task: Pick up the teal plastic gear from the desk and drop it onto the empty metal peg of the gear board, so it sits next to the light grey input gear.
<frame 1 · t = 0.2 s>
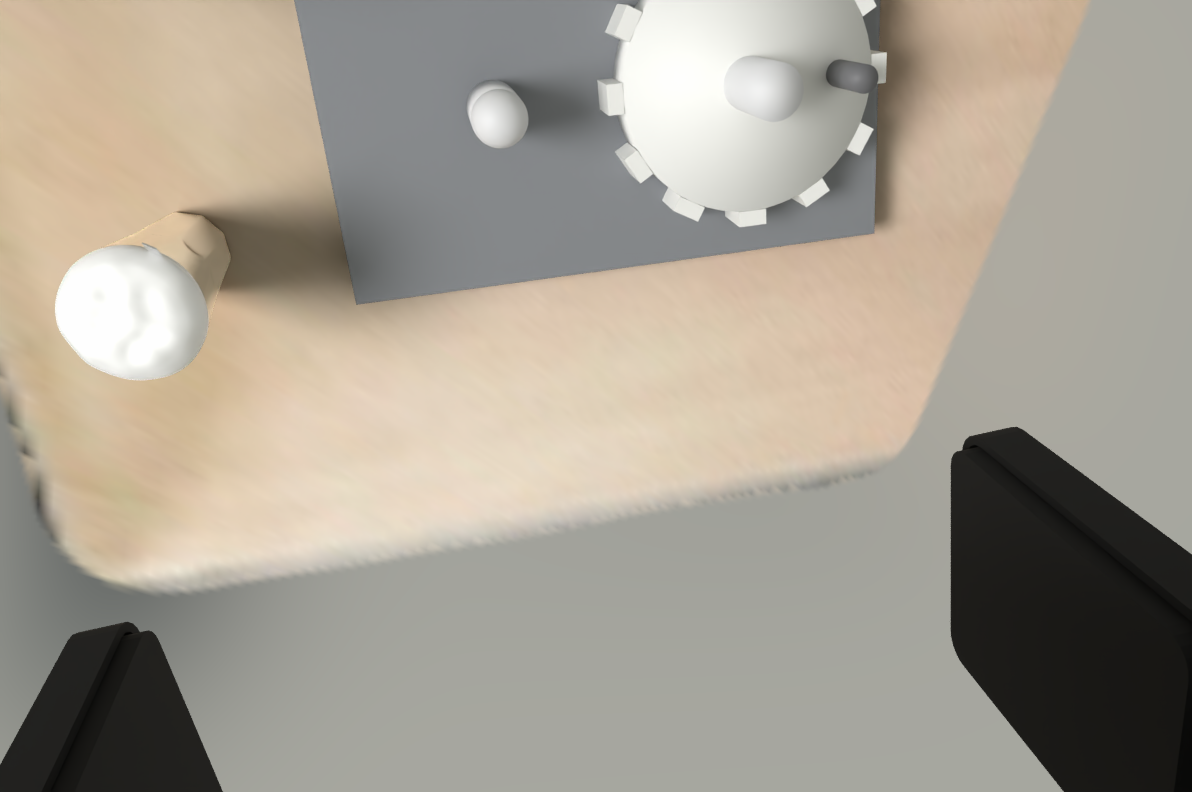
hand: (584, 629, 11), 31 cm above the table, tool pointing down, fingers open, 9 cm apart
gear board: (602, 89, 39), on the table
milkshake: (192, 241, 38), on the table
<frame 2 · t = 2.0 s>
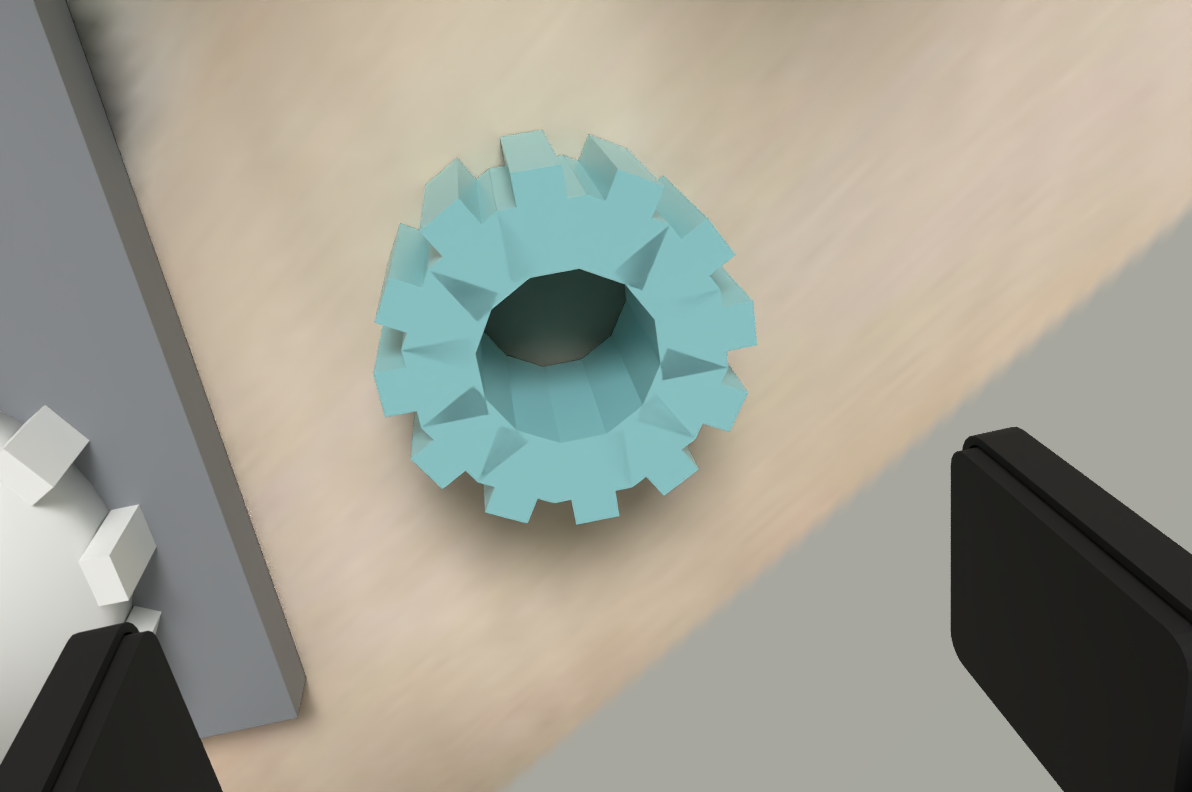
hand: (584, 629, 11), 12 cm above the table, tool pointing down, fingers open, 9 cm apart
gear: (550, 294, 22), on the table
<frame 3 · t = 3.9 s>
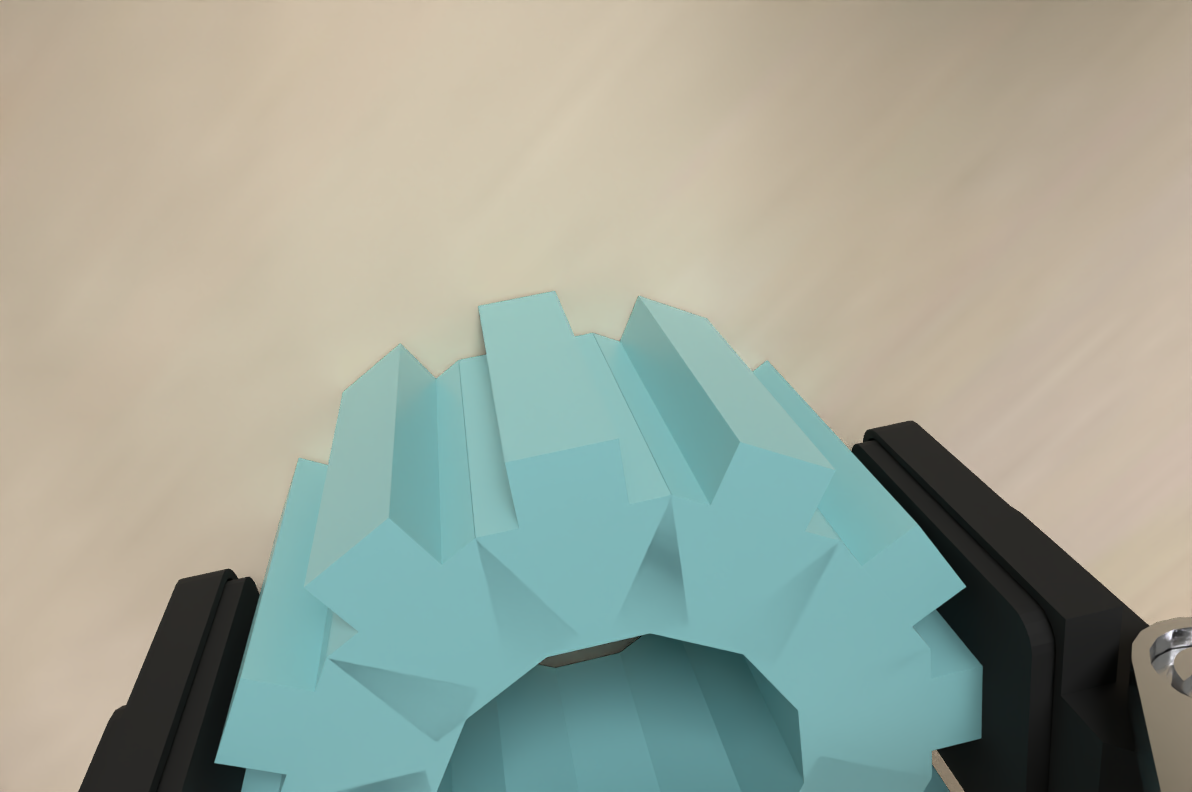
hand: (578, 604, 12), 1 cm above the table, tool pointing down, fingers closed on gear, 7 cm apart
gear: (567, 558, 13), on the table, touching gripper
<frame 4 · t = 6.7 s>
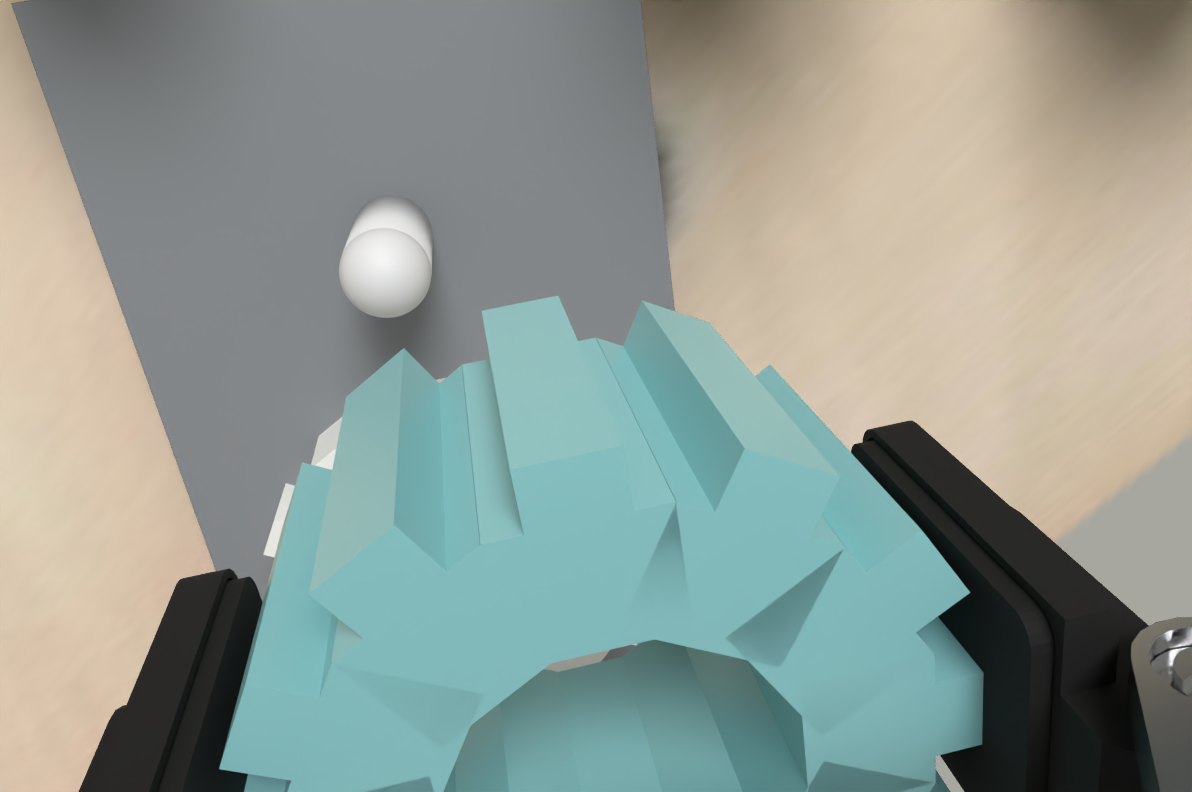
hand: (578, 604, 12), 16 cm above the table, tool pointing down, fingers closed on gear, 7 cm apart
gear board: (430, 374, 28), on the table
gear: (570, 562, 13), point 15 cm above the table, touching gripper
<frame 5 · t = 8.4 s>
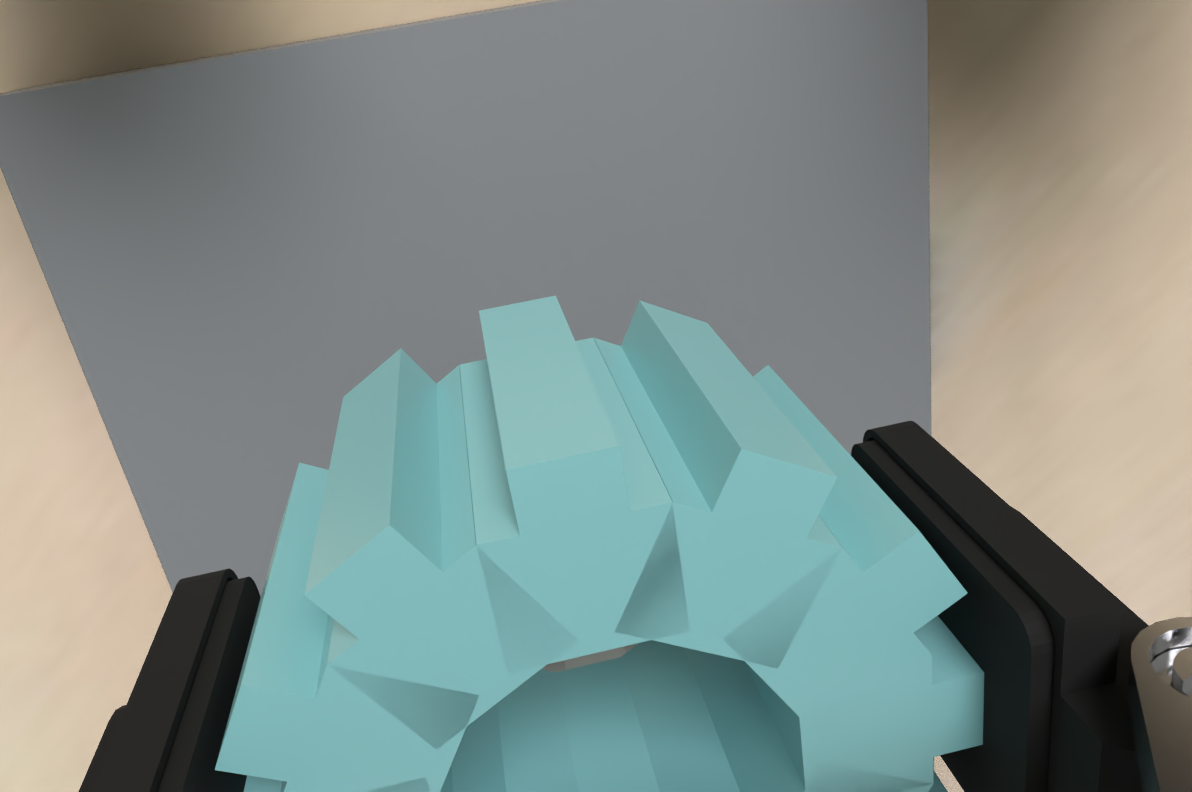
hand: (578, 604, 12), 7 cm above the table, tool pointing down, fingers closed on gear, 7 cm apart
gear board: (575, 580, 20), on the table
gear: (568, 562, 13), point 6 cm above the table, touching gripper
when the fingers open (4 cm above the table, at t = 10.0 s): gear drops 1 cm, resting on gear board.
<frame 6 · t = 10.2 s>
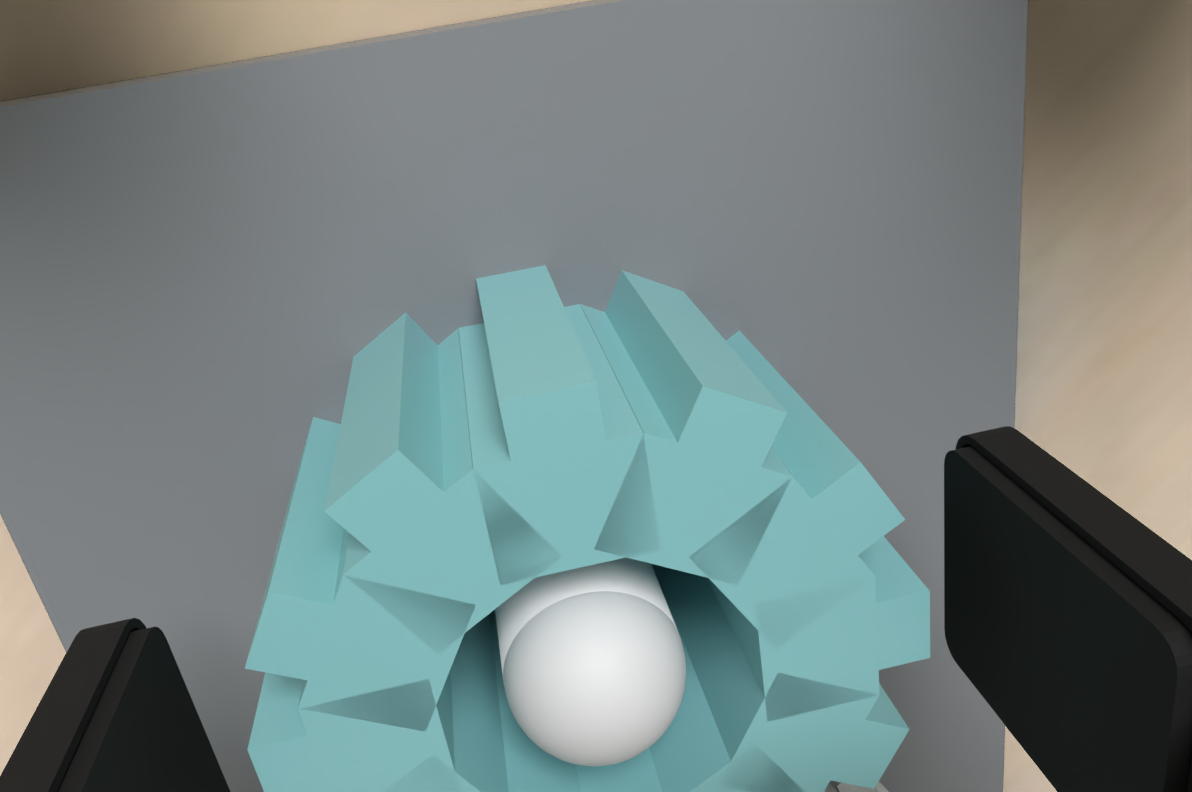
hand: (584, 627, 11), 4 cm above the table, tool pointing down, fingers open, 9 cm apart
gear board: (587, 686, 17), on the table
gear: (557, 512, 14), point 1 cm above the table, touching gear board
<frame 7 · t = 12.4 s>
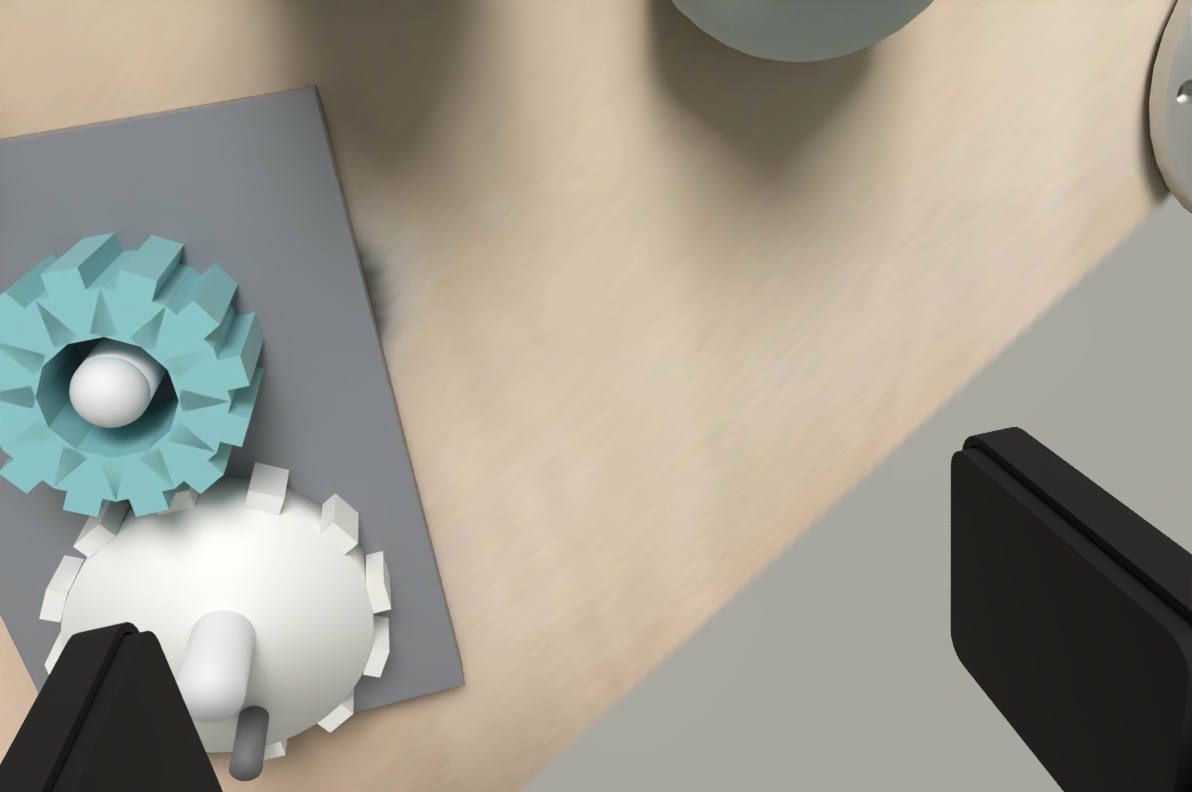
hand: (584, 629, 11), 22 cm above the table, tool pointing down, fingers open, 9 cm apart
gear board: (192, 456, 33), on the table
gear: (140, 349, 29), point 1 cm above the table, touching gear board
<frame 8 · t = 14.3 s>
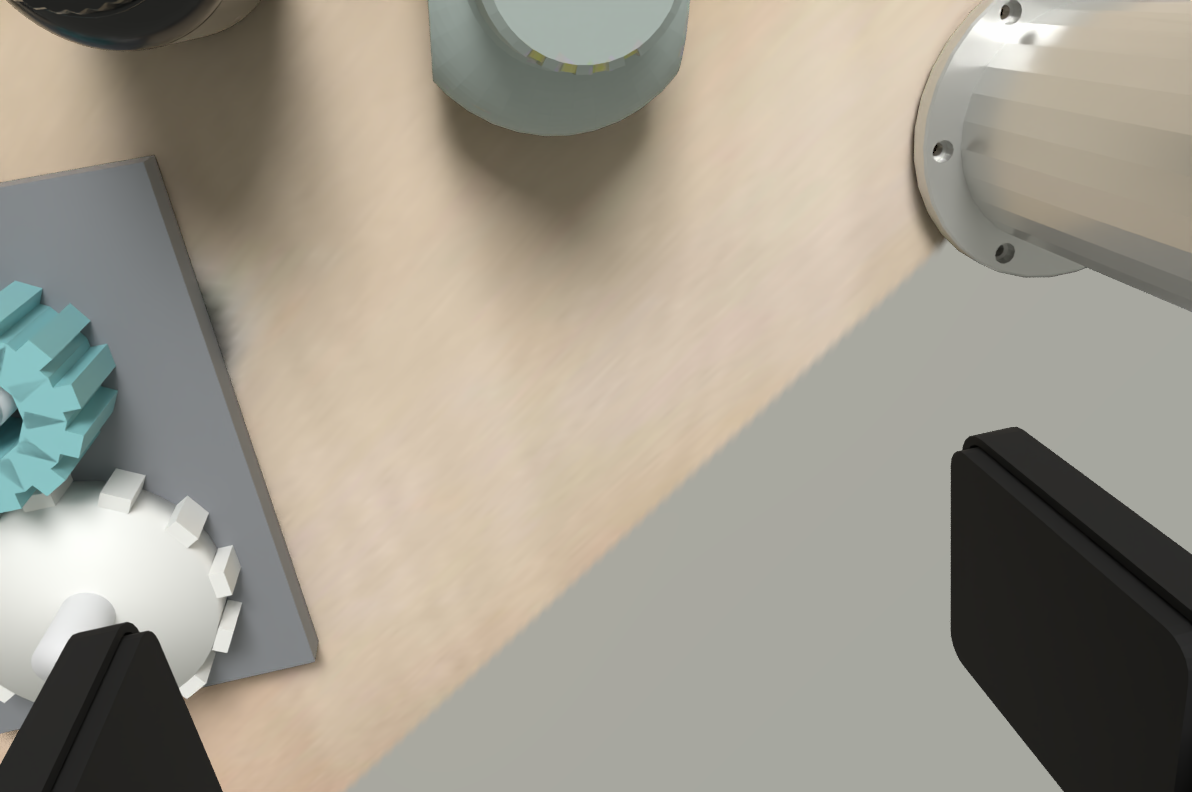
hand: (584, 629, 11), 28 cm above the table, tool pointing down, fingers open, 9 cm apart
gear board: (69, 461, 39), on the table
gear: (11, 374, 35), point 1 cm above the table, touching gear board
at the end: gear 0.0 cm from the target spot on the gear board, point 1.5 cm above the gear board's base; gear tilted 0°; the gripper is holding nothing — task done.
